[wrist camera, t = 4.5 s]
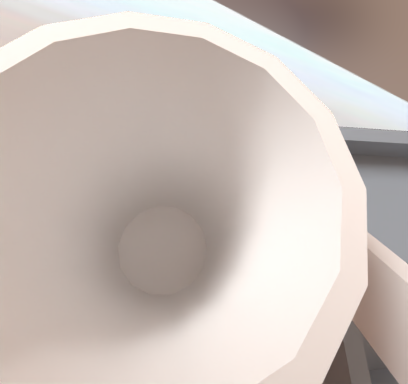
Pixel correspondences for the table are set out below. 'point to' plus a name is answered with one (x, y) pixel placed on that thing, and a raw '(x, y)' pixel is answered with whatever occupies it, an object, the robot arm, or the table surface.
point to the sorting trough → (380, 229)
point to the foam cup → (170, 210)
